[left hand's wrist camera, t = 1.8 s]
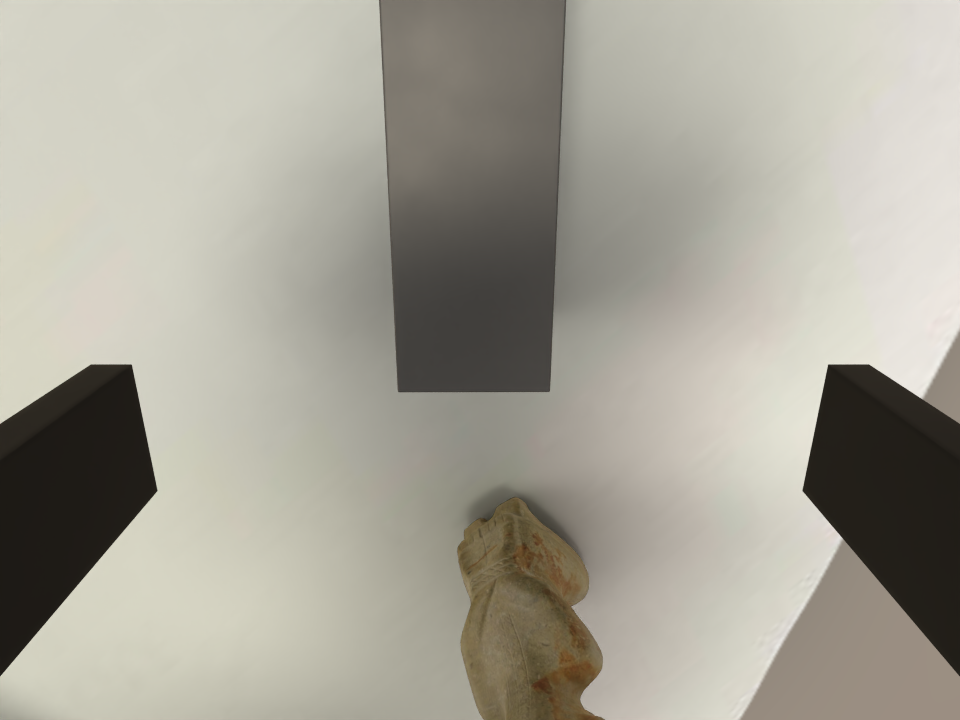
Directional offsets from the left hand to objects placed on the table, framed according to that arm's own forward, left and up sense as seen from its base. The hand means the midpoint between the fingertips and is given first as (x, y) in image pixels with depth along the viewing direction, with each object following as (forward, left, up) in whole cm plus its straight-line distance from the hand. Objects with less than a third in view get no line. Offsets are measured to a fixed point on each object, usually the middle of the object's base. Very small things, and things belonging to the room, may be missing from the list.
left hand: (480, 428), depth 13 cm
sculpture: (-15, -6, -18) cm, 24 cm away
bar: (+7, +2, -18) cm, 20 cm away
